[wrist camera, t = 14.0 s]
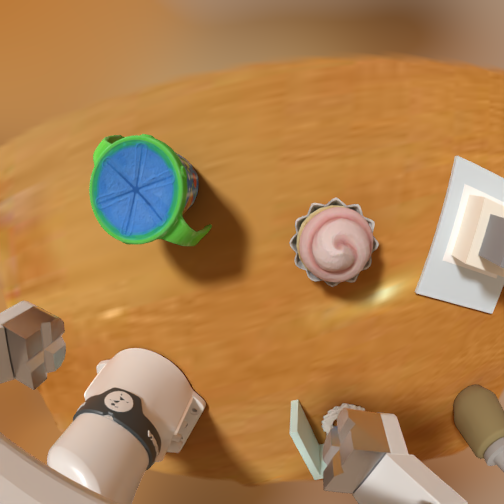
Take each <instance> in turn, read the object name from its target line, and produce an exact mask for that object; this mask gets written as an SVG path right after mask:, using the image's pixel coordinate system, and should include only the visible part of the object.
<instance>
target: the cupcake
mask: <svg viewBox="0 0 504 504" xmlns="http://www.w3.org/2000/svg"><path fill="white" fill-rule="evenodd" d="M295 227H296V232H297V233H296V234H295V235H294V236H293V237H292V238H291V240H290V242H289V243H290V246H291V248H292V249H293V250H294V251H295V252H296V256H295V264H296V266H297V267H299V268H300V269H303V270H306V272H307V275H308V277H309V278H310V279H311V280H313V281H322V280H323V281H324V282H325V283H326V284H327V285H329V286H331V287H334V286H336V285H338V284H339V283H340V282H343V281H347V282H355V281H356V279H357V277H358V275H359V272H361V271H362V270H365V269H368V268H369V267H370V266H371V263H372V260H371V254H372V253H373V252H374V251H375V250H376V249H377V247H378V245H379V244H378V241H377V240H376V239H375V238H374V236H373V230H374V221H373V220H371V219H368V218H366V217H363V214H362V210H361V207H360V206H359V204H353V205H347V206H346V205H345V204H344V203H343V202H342V201H341V200H340V199H338V198H334V199H332V200H331V201H330V202H329V203H327V204H326V205H323V204H319V203H312V205H311V206H310V209H309V212H308V214H307V215H306V216H303V217H300V218H298V219H297V220H296V222H295Z"/></svg>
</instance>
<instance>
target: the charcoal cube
mask: <svg viewBox="0 0 504 504" xmlns="http://www.w3.org/2000/svg"><path fill="white" fill-rule="evenodd" d="M478 255H479V256H481V257H483V258H485V259H487V260H489V261H490V262H492V263H494V264H496V265H498V266H499V267H502V268H504V218H502V217H499V216H496V215H492V214H490V218H489V221H488V225H487V228H486V232H485V235H484V238H483V242H482V245H481V248H480V251H479V254H478Z"/></svg>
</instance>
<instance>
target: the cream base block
mask: <svg viewBox="0 0 504 504" xmlns="http://www.w3.org/2000/svg"><path fill="white" fill-rule="evenodd" d="M490 214H492V215H496V216H499V217H502V218H504V206H502V205H500V204H498V203H496V202H494V201H492V200H490V199H488V198H485V197H481V196H476V195H470V194H469V197H468V201H467V204H466V208H465V212H464V215H463V219H462V222H461V226H460V229H459V233H458V236H457V239H456V242H455V245H454V248H453V251H452V254H451V255H452V256H454V257H456V258H457V259H459V260H460V261H462V262H464V263H465V264H468V265H471V266H474V267H477V268H480V269H482V270H485V271H488V272H491V273H494V274H496V275H499V276H502V277H504V268H502V267H499V266H498V265H496V264H494V263H492V262H490V261H489V260H487V259H485V258H483V257H481V256H479V255H478V254H479V251H480V248H481V245H482V242H483V238H484V235H485V232H486V228H487V225H488V221H489V218H490Z"/></svg>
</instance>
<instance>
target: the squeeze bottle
mask: <svg viewBox="0 0 504 504" xmlns="http://www.w3.org/2000/svg"><path fill="white" fill-rule="evenodd" d="M454 422H455V425H456V427H457V429H458V430H459V432H460V433H461V434H462V436H463V437H464V439H465V440H466V442H467V443H468V445H469V446H470V448H471V449H472V451H473V452H474V454H475V455H476V457H478V458H480V459H481V458H484V459H485V461H486V463H487V465H489V466H493V465H497V466H498V467H499V468H500V469H501V470H502V471H503V472H504V411H503V409H502V407H501V405H500V403H499V401H498V399H497V397H496V395H495V394H494V393H493V392H492V391H490V390H488V389H486V388H484V387H482V386H480V385H471V386H468V387H467V388H465V389H464V390H462V391H461V392H460V393H459V395H458V396H457V397H456V399H455V401H454Z"/></svg>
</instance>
